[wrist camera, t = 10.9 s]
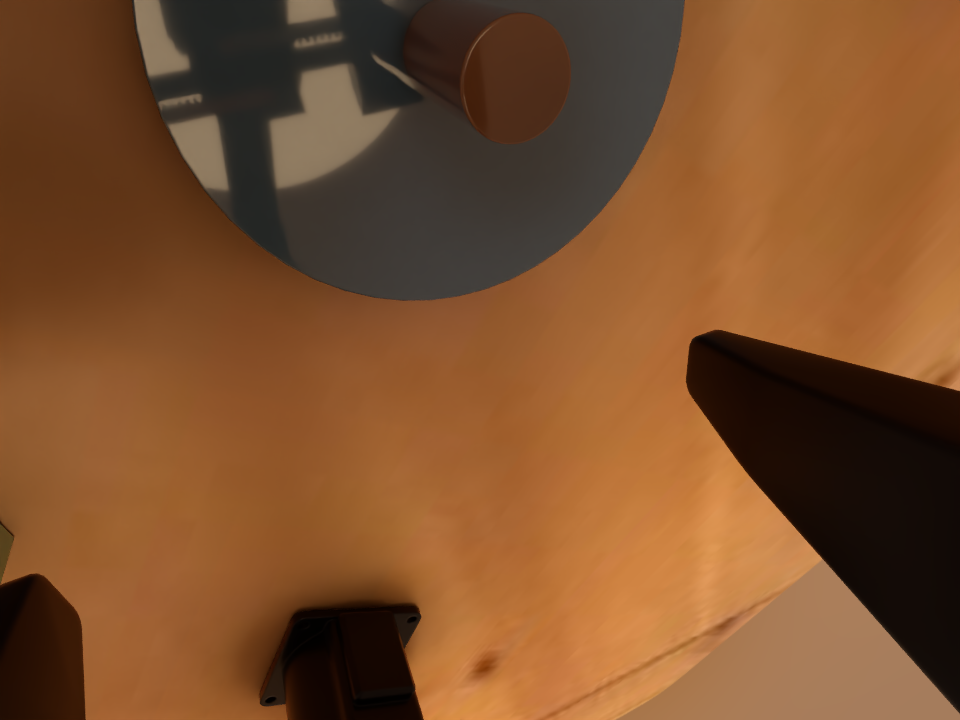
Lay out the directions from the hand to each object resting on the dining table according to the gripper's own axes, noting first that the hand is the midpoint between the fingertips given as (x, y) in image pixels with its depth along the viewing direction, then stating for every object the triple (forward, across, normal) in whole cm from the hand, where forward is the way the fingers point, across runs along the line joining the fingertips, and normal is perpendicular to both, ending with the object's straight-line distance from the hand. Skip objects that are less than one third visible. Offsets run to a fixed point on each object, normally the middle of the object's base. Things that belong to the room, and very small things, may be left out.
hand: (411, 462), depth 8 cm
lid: (+12, -5, -3) cm, 13 cm away
